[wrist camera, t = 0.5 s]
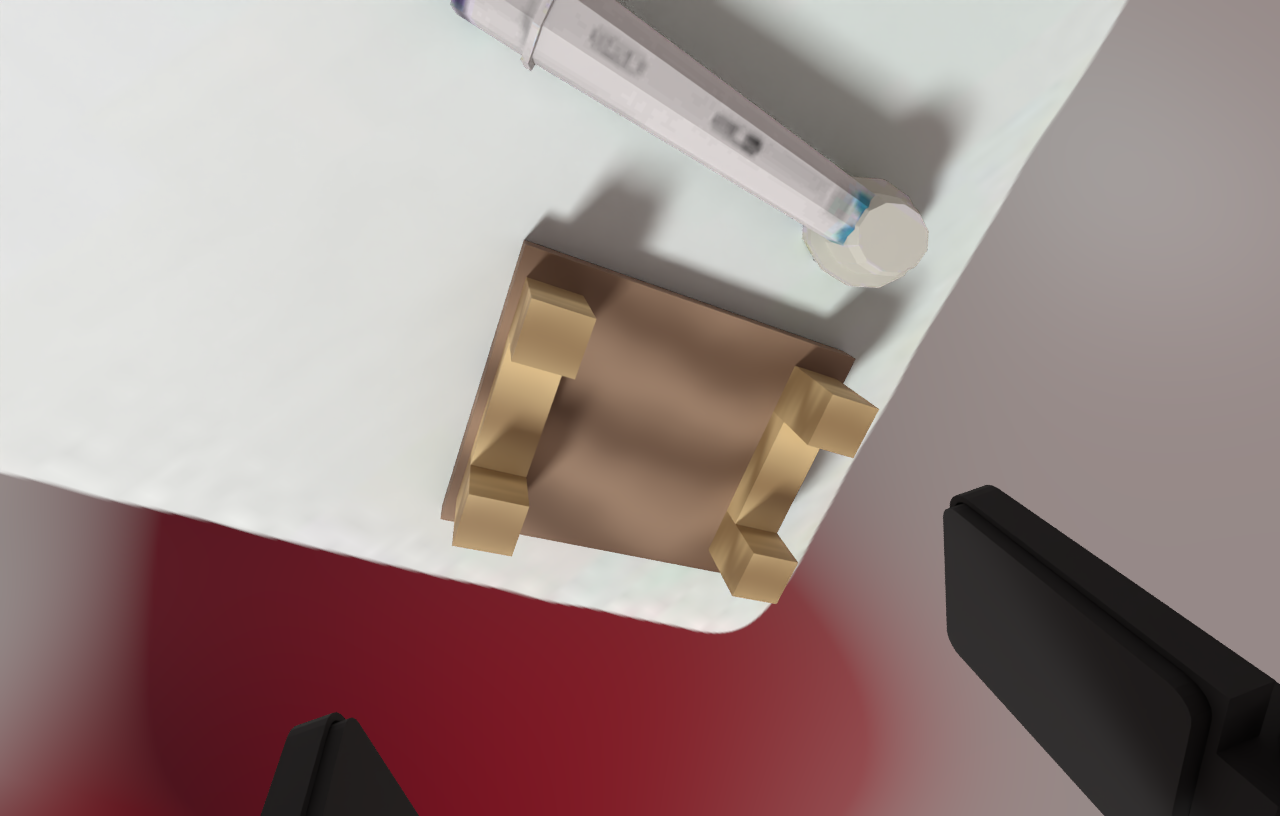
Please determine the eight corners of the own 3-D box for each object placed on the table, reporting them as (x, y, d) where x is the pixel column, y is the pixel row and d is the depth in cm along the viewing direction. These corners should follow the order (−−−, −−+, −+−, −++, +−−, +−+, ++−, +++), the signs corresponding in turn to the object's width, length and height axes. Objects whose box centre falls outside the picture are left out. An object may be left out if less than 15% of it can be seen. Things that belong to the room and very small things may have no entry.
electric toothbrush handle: (494, -126, 23) (989, 223, 29) (511, -60, 29) (916, 217, 36) (434, 14, 24) (921, 321, 31) (463, 49, 31) (862, 298, 37)
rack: (524, 239, 32) (530, 261, 27) (842, 350, 38) (899, 386, 33) (442, 504, 37) (434, 568, 31) (737, 563, 43) (772, 624, 38)
